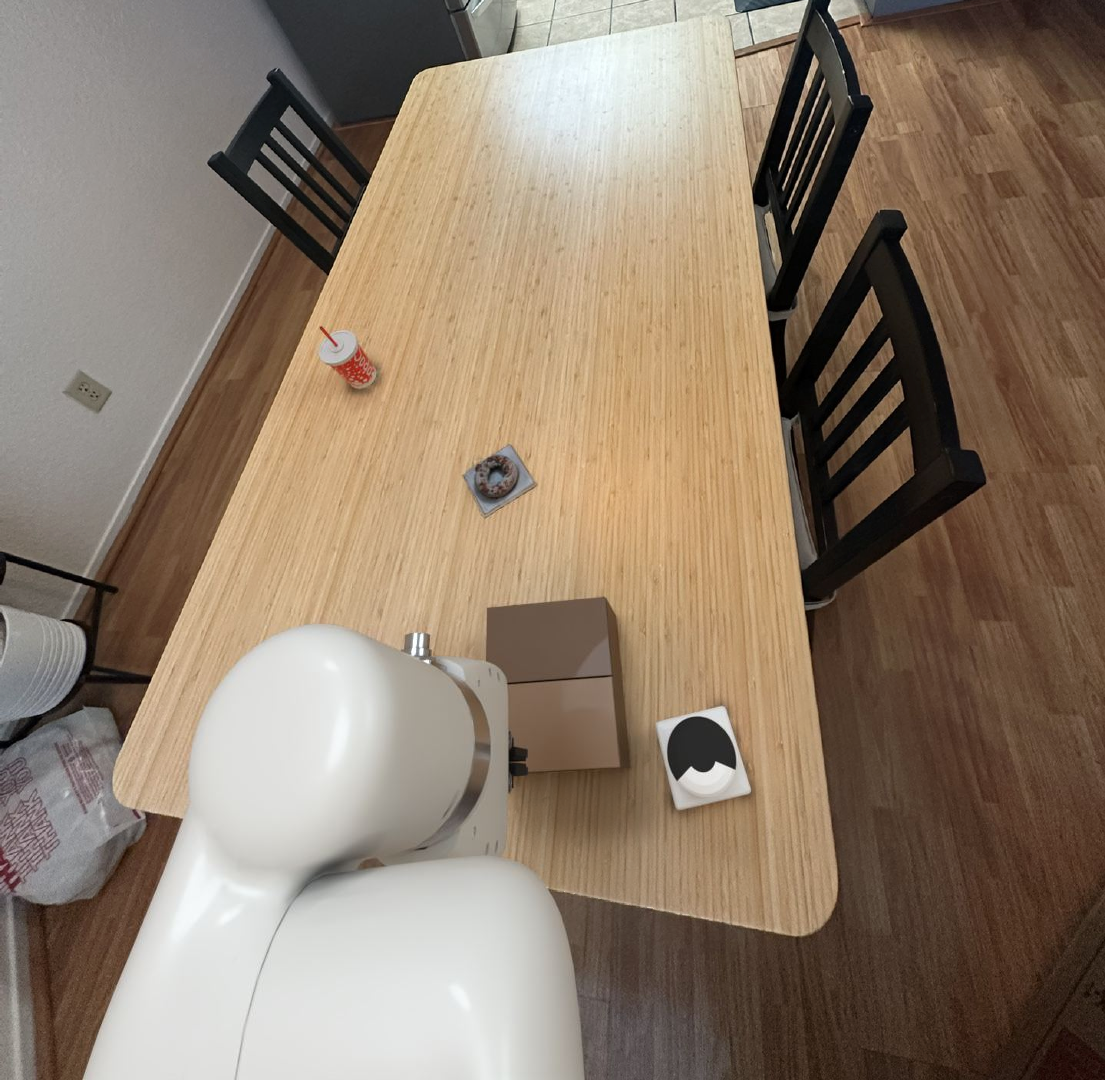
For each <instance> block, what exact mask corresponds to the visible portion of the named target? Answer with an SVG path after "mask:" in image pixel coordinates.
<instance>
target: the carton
mask: <svg viewBox="0 0 1105 1080" xmlns="http://www.w3.org/2000/svg"><path fill="white" fill-rule="evenodd" d="M485 637H486V638H485V639H486V641H485V645H486V646H485V661H486V662H489V663H492V664H494V665H496V666H497V667H498V668H499V669H501V671H502V672H503V673H504V675H505V677H506V680H507V685H508V684H521V683H535V682H548V681H562V680H575V679H589V678H602V677H612V680H613V691H614V702H615V713H616V725H617V736H618V747H619V758H620V767H614V768H596V769H578V770H559V771H541V772H528V775H530V774H531V775H533V774H548V773H551V774H552V773H570V772H587V771H589V772H590V771H604V770H623V769H624V770H625V769H631V767H632V766H631V757H630V746H629V745H630V744H629V735H628V725H627V714H626V702H625V694H624V683H623V673H622V662H621V661H622V660H621V652H620V651H621V650H620V641H619V630H618V619H617V615H616V613H615V611H614V609H613V607H612V605H611V604H610V602H609V600H608V598H607V597H606V596H599V597H589V598H577V599H576V598H575V599H566V600H555V601H544V602H534V603H533V602H531V603H521V604H512V605H500V606H491V607H486V635H485Z"/></svg>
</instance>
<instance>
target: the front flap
mask: <svg viewBox="0 0 1105 1080" xmlns="http://www.w3.org/2000/svg"><path fill="white" fill-rule="evenodd" d="M507 688H508V728H509V729H510V730H511V734H512V737H513V738H514V747H519V748H524V749H528V758H526V761H521V762H516V763H524V764H526V767H528V772H541V771H559V770H578V769H596V768H614V767H620V758H619V747H618V736H617V725H616V713H615V702H614V691H613V680H612V677H602V678H589V679H575V680H562V681H548V682H535V683H521V684H508V685H507ZM508 763H509V762H508Z"/></svg>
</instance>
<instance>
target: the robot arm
mask: <svg viewBox="0 0 1105 1080" xmlns="http://www.w3.org/2000/svg"><path fill="white" fill-rule="evenodd" d="M430 643H431V633H426V632H409V633H407V634H405V635H404V643H403V644H404V645H403V648H402V649H401V650H400V649H398V648H395V647H393V646H391V645H390V644H387V643H385V642H382V641H380V640H378V639H375V638H373V637H371V636H369V635H367V634H364V633H362V632H360V631H358V630H355V629H352V628H350V627H345V626H343V625H338V624H334V623H325V622H324V623H308V624H302V625H297V626H293V627H291V628H288V629H286V630H283V631H280V632H277V633H275V634H273V635H272V636H270V637H268V638H266V639H265V640H263V641H261V642H259V643H258V644H257V645H255V646H254V647H253V648H252V649H250V650H249V651H247V652H246V653H244V655H243V656H242V657H241V658H240V659H238V661H237V662H236V663H235V664H234V665H233V666H232V667H231V669H229V671H228V672H226V674H225V675H224V677H223V679H221V681H220V682H219V684H218V685H217V687H215V689H214V691H213V693H212V694H211V697H210V698H209V700H208V701H207V703H206V705H205V706H204V710H203V711H202V714H201V716H200V719H199V721H198V723H197V726H196V729H195V732H194V734H193V735H194V736H193V739H192V743H191V747H190V751H189V752H190V753H189V759H188V765H187V795H188V803H187V806H186V809H185V812H184V815H183V818H182V820H181V823H180V826H179V829H178V831H177V835H176V837H175V840H174V843H173V846H172V848H171V850H170V854H169V856H168V859H167V860H166V861H167V862H166V863H165V867H164V869H163V872H162V874H161V877H160V879H159V882H158V883H157V887H156V890H155V892H154V894H153V896H152V898H151V902H150V904H149V906H148V908H147V911H146V913H145V916H144V919H143V922H142V924H141V925H140V928H139V931H138V934H137V936H136V938H135V941H134V943H133V946H132V948H131V950H130V953H129V956H128V957H127V960H126V963H125V965H124V967H123V969H122V972H121V974H120V977H119V980H118V982H117V984H116V986H115V988H114V991H113V994H112V996H111V999H110V1002H109V1004H108V1006H107V1009H106V1011H105V1014H104V1017H103V1019H102V1021H101V1025H100V1027H99V1030H98V1032H97V1035H96V1039H95V1041H94V1044H93V1047H92V1049H91V1053H90V1056H89V1059H88V1062H87V1064H86V1068H85V1071H84V1074H83V1077H82V1080H585V1067H584V1066H585V1065H584V1052H583V1051H584V1050H583V1039H582V1025H581V1015H580V1008H579V1000H578V993H577V992H578V991H577V983H576V974H575V967H574V966H575V965H574V962H573V961H574V960H573V957H572V952H571V947H570V942H569V938H568V934H567V930H566V927H565V923H564V921H563V917H562V914H561V911H560V909H559V907H558V905H557V903H556V900H555V898H554V897H553V894H552V893H551V892H550V890H549V889H548V887H547V885H546V884H545V882H544V881H543V880H542V879H541V878H540V876H538V874H537V873H536V872H535V871H533V870H532V869H531V868H530V867H528V866H527V865H525V864H523V863H521V862H519V861H517V860H513V859H510V858H506V857H504V856H503V855H504V853H505V851H506V848H507V841H508V825H509V820H508V819H509V795H510V794H511V792H512V789H515V777H529V774H528V767H526V764H524V763H516V762H521V761H526V758H528V749H524V748H519V747H514V738H513V737H512V734H511V730H510V729H509V728H508V688H507V680H506V677H505V675H504V673H503V672H502V671H501V669H499V668H498V667H497V666H496V665H494V664H492V663H489V662H486V660H481V659H476V658H469V657H463V656H451V655H449V656H448V655H447V656H446V655H441V656H438V655H433V654H432V653H433V650H432V649H431V648H430V647H431V645H430ZM508 762H509V763H508ZM372 859H376V860H378V862H380V863H381V864H383V865H384V866H377V867H370V868H361V869H358V868H359V867H360V865H361V864H362V863H363V862H365V861H367V860H372Z"/></svg>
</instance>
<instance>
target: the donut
mask: <svg viewBox="0 0 1105 1080" xmlns="http://www.w3.org/2000/svg"><path fill="white" fill-rule="evenodd" d="M462 478H463V479H464V482H465V484H466V486H467V489H468V490H469V492H470V493H471V495H472V498H473V500H474V502H475V504H476V505H477V508H478V509H479V511H480V513H481V515H482V517H483V518H484V519H485V518H487V517H488V516H490V515H492V514H493V513H495V512H496V511H498V510H499V509H501V508H503V507H505V506H507V505H508V504H509V503H511V502H513V501H514V500H516V499H517V498H519V497H520V496H522V495H523V494H525V493H526V492H528V491H530V490H532V489H533V488H534V487H536V486H538V483H537V482H536V481H535V479H534V477H533V476H532V474H531V472H530V471H529V470H528V468H527V466H526V465H525V463H524V462H523V460H522V458H521V457H520V456H519V454H518V453H517V451H516V449H515V448H514V446H513V445H512V444H507V445H505V446H503V447H502V448H500V450H497V451H495V452H494V453H493V454H491V455H490V456H488V457H486V458H484V459H483V460H481V461H479V462H478V463H476V464H475V465H473V466H471V467H470V468H468V469H467V470H466V471H465V473H464V474H463V475H462Z"/></svg>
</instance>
